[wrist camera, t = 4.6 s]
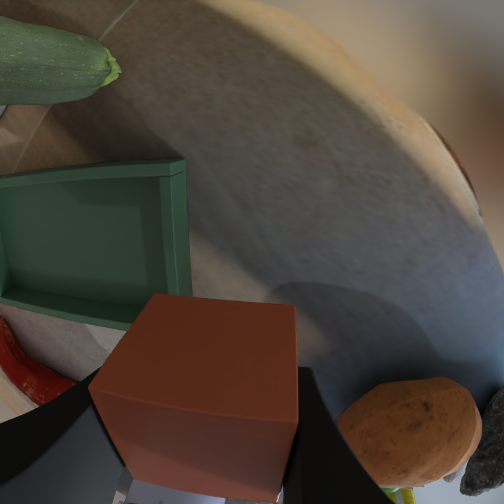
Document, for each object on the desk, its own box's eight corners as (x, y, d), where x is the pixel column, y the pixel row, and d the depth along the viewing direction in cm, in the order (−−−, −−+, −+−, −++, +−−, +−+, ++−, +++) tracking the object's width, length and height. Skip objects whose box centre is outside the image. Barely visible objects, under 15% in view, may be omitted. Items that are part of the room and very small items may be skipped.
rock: (466, 452, 23) (503, 450, 20) (449, 517, 15) (496, 516, 12) (481, 361, 22) (525, 357, 19) (478, 424, 15) (537, 419, 12)
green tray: (194, 316, 18) (183, 339, 16) (15, 289, 20) (-2, 303, 18) (186, 158, 15) (170, 162, 13) (-7, 176, 16) (-28, 183, 14)
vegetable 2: (80, 403, 18) (-17, 314, 19) (67, 445, 18) (-23, 360, 19) (106, 383, 23) (14, 308, 23) (91, 423, 23) (5, 350, 23)
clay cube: (283, 402, 11) (277, 503, 7) (170, 388, 11) (133, 479, 7) (295, 304, 9) (298, 422, 5) (154, 291, 10) (85, 386, 6)
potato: (407, 326, 17) (451, 418, 10) (482, 383, 18) (517, 448, 11) (313, 411, 20) (315, 500, 13) (403, 446, 22) (418, 513, 15)
